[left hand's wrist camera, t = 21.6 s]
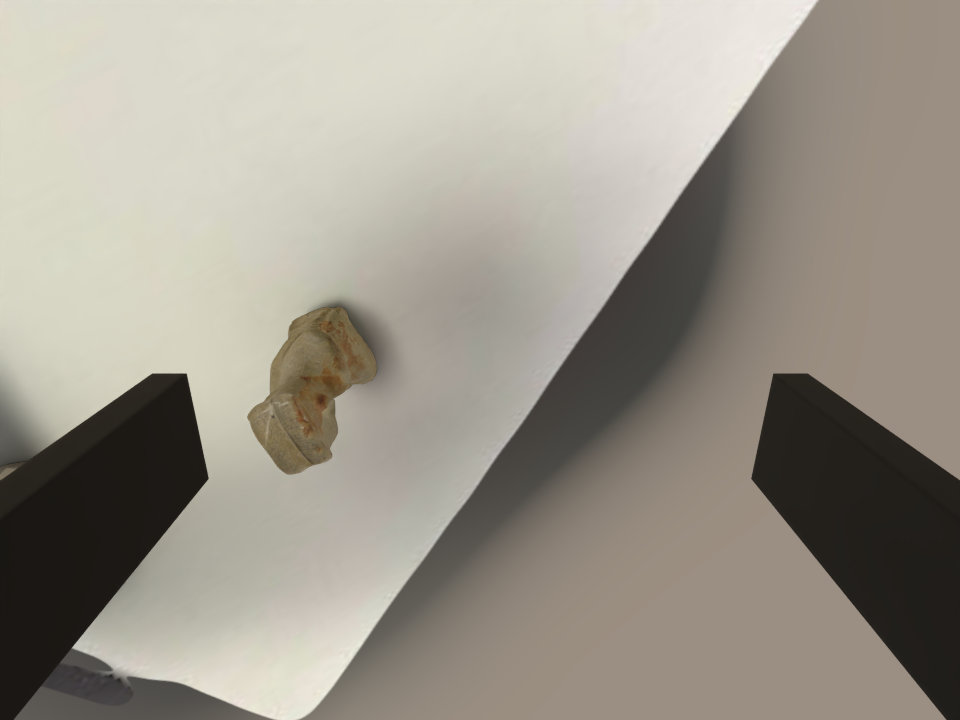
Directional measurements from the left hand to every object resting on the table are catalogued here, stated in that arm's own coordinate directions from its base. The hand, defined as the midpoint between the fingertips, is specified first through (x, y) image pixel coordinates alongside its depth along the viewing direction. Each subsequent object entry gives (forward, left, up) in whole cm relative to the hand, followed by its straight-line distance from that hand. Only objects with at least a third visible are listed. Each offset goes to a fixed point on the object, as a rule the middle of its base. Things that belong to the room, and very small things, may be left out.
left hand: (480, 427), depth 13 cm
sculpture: (-14, +5, -32) cm, 35 cm away
